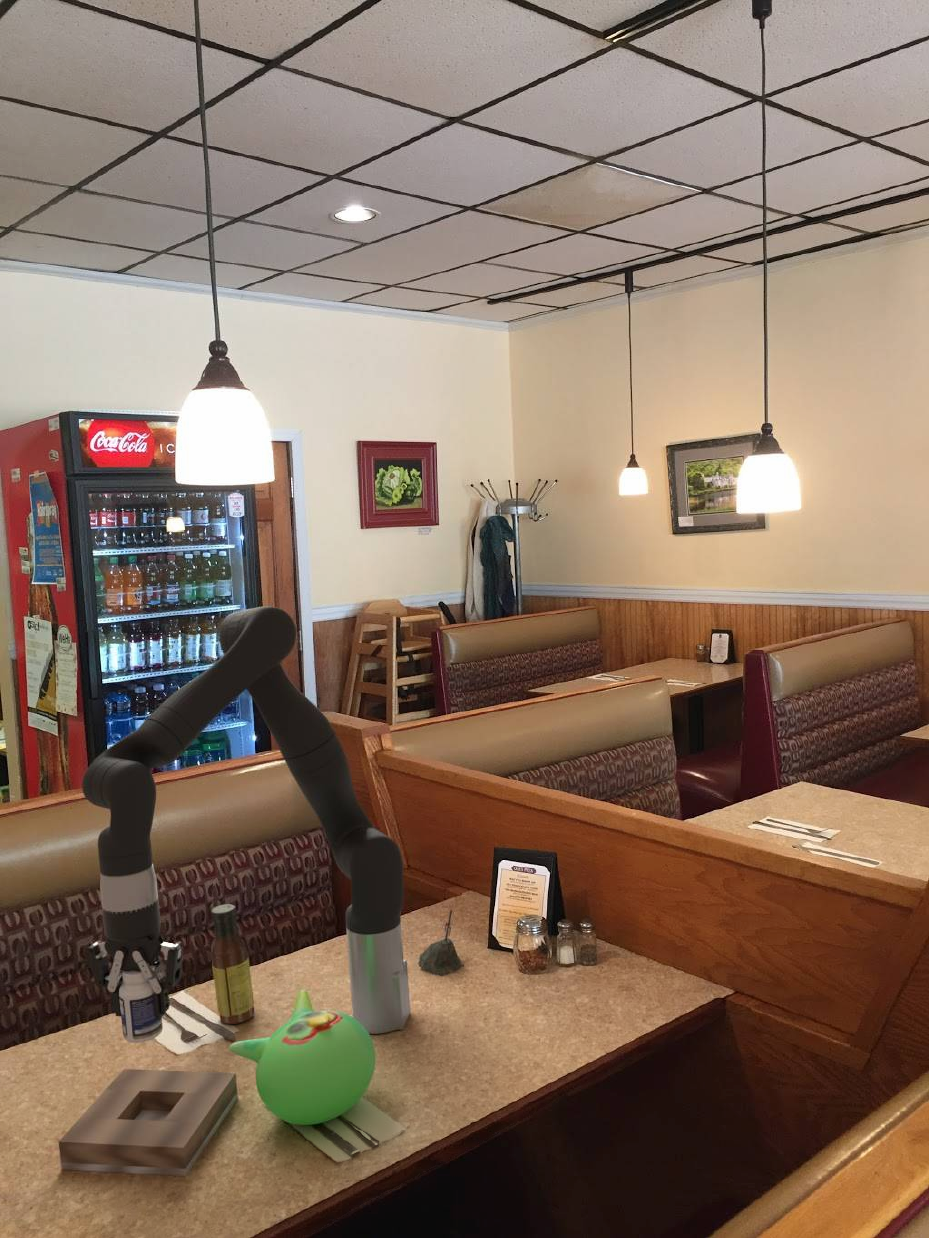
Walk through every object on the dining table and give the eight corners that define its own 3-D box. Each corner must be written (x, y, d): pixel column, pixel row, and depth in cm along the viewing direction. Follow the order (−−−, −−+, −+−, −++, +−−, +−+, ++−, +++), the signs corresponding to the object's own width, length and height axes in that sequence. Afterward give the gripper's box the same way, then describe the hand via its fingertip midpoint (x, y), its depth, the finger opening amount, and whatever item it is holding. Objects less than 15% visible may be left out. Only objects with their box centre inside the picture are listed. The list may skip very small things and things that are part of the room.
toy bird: (321, 1161, 137) (313, 1057, 135) (230, 1127, 146) (221, 1029, 144) (400, 1092, 152) (393, 998, 150) (313, 1065, 161) (305, 976, 159)
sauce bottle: (259, 1008, 181) (250, 900, 179) (248, 1026, 175) (239, 914, 173) (223, 1008, 182) (214, 901, 179) (211, 1026, 175) (201, 915, 173)
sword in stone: (408, 962, 196) (406, 901, 195) (442, 952, 201) (441, 892, 200) (435, 980, 188) (434, 917, 187) (471, 969, 192) (470, 907, 191)
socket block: (237, 1098, 153) (235, 1072, 152) (186, 1176, 135) (183, 1147, 135) (126, 1093, 156) (123, 1068, 156) (61, 1169, 138) (58, 1141, 138)
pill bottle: (170, 1027, 146) (164, 961, 145) (147, 1046, 141) (140, 978, 140) (139, 1022, 148) (133, 958, 147) (115, 1041, 143) (108, 974, 142)
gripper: (189, 889, 145) (200, 1003, 147) (97, 888, 148) (108, 1000, 149) (165, 910, 138) (176, 1029, 139) (68, 909, 140) (80, 1026, 142)
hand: (141, 1013), depth 144 cm, fingers closed on pill bottle, 5 cm apart
